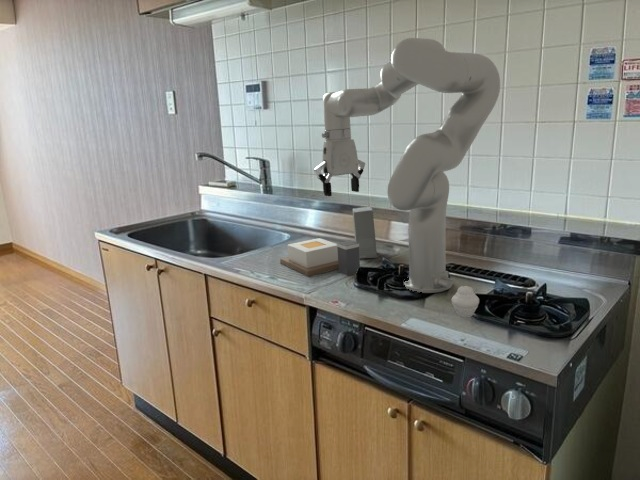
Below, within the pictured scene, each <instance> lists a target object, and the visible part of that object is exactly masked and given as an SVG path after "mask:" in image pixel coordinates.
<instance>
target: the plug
mask: <svg viewBox="0 0 640 480" xmlns="http://www.w3.org/2000/svg"><path fill="white" fill-rule="evenodd" d="M336 244H337V249H338V266H339V269H338V272H339V273H340V274H343V275H346V276H350V275H354V274H357V273H356V272H357V269H358V268H360V269H361V262H360V260H361V259H360V258H359V243H357V242H355V240H351V239H350V240H344V241H341V242H336Z"/></svg>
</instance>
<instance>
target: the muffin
mask: <svg viewBox="0 0 640 480" xmlns="http://www.w3.org/2000/svg"><path fill="white" fill-rule="evenodd" d="M450 302H451V303H452V307H453V309H454V311H455V312H456V313H457V315H458V316H459V317H462V318H470V317H472V316H473V315H474V313H475V312H476V310H477V309H478V307H479V304H480V298H479V297H478V296H477V295H476V293H475V292H474V288H473V287H471V286H468V285H461V286H459V287H458V288H457V291H456V292H455V294H454V295H453V296H452V297H451V301H450Z"/></svg>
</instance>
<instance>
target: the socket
mask: <svg viewBox="0 0 640 480" xmlns="http://www.w3.org/2000/svg"><path fill="white" fill-rule="evenodd" d="M313 242H318V243H321V244H324V245H323V246H318V247H314V248H307V247H304V246H302V245H303V244H308V243H313ZM286 247H287V256H285V257H282V258H279V260H280V264H282V265H284V266H286V267H288V268H290V269H292V270H294V271H296V272H298V273H300V274H303V275H305V276H306V277H310V276H311V277H312V276H313V275H314V276H315V275H318V274H321V273H326V272H331V271H335V270H339V266H338V249H337V243H335V242H332V241H329V240H326V239H324V238H320V237H318V238H313V239H307V240H303V241H298V242H294V243H289V244H287V246H286Z"/></svg>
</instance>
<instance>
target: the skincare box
mask: <svg viewBox="0 0 640 480" xmlns="http://www.w3.org/2000/svg"><path fill="white" fill-rule="evenodd" d="M352 220H353V221H352V222H353V232H354V242H357V243H359V258H360V260H361V259H378V252H377V251H378V250H377V241H376V229H375V221H374V209H373V207H372V206H365V207H363V206H362V207H355V208H354V207H353V208H352Z"/></svg>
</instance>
